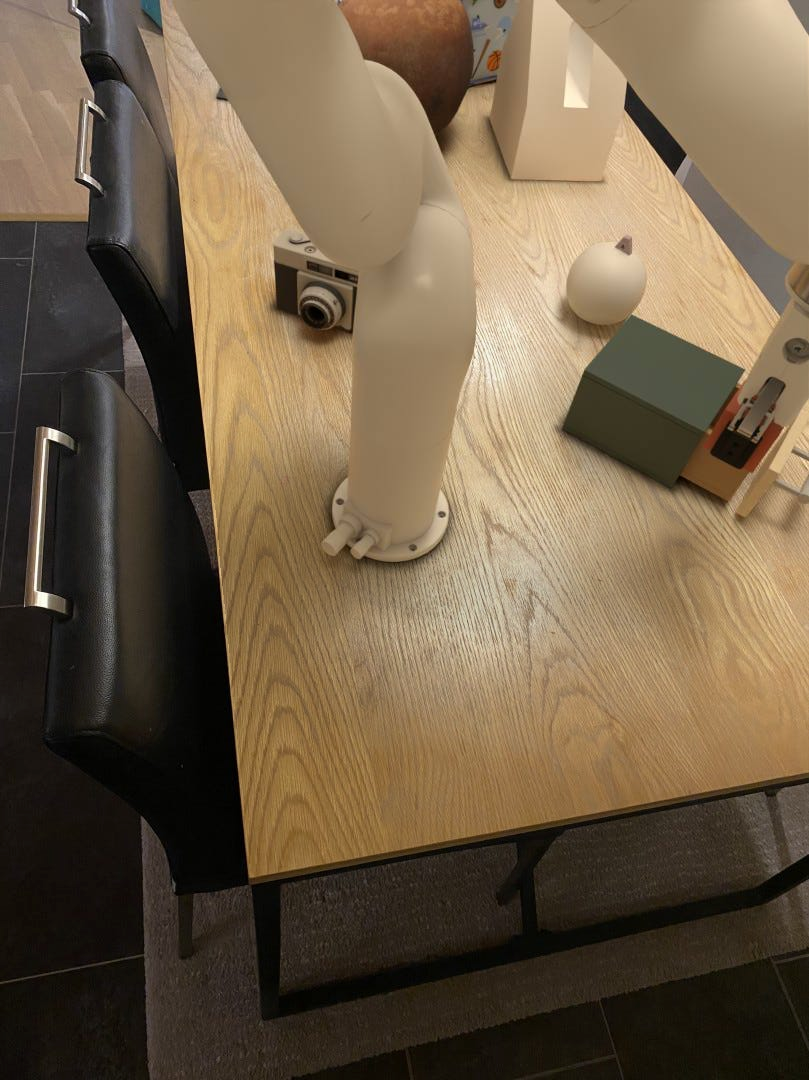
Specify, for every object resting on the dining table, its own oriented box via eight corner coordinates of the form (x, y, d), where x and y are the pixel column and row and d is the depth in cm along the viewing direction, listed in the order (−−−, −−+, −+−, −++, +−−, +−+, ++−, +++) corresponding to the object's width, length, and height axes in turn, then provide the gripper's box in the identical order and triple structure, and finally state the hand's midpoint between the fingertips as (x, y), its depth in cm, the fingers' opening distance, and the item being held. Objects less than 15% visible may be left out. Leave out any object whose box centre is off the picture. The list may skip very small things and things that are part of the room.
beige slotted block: (489, 119, 134) (520, -52, 114) (572, 121, 136) (617, -45, 116) (511, 179, 123) (549, 2, 103) (601, 181, 126) (655, 8, 105)
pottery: (454, 176, 122) (480, -3, 102) (313, 151, 123) (312, -32, 102) (469, 109, 136) (495, -61, 115) (342, 87, 136) (346, -87, 116)
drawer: (813, 477, 90) (851, 432, 84) (783, 538, 84) (821, 495, 78) (675, 406, 95) (701, 358, 89) (637, 459, 89) (662, 413, 83)
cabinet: (710, 427, 95) (745, 369, 87) (671, 488, 88) (705, 431, 80) (606, 374, 99) (631, 313, 91) (561, 429, 92) (584, 369, 84)
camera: (261, 325, 98) (256, 257, 90) (288, 289, 102) (285, 221, 94) (362, 357, 96) (366, 291, 88) (385, 319, 101) (391, 252, 93)
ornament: (634, 301, 108) (665, 225, 98) (627, 347, 102) (659, 270, 92) (563, 284, 109) (588, 206, 99) (552, 328, 103) (577, 250, 93)
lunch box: (445, 98, 137) (463, -48, 119) (412, 73, 141) (425, -72, 123) (557, 70, 148) (590, -69, 130) (523, 47, 152) (550, -90, 134)
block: (752, 473, 70) (778, 436, 66) (702, 447, 71) (725, 409, 67) (770, 442, 72) (797, 404, 68) (722, 417, 74) (745, 379, 70)
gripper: (860, 360, 51) (741, 519, 66) (922, 248, 60) (804, 411, 75) (757, 311, 54) (663, 476, 68) (830, 211, 62) (733, 376, 77)
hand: (738, 441), depth 72 cm, fingers closed on block, 5 cm apart
